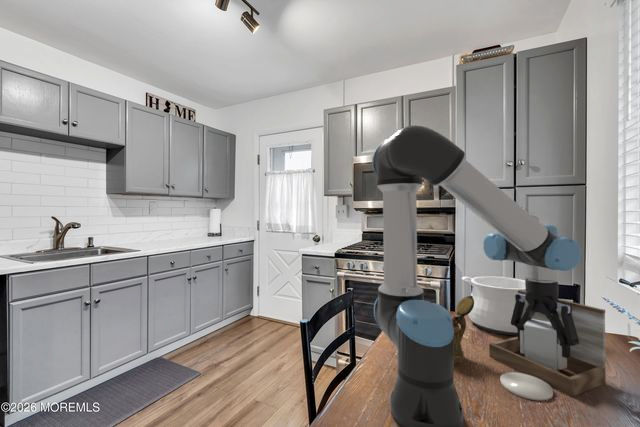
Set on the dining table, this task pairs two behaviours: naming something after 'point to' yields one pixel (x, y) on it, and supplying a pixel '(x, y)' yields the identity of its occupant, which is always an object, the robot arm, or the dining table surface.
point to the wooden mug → (461, 326)
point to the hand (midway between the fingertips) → (542, 359)
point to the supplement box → (541, 343)
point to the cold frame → (583, 356)
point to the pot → (494, 303)
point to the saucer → (526, 386)
